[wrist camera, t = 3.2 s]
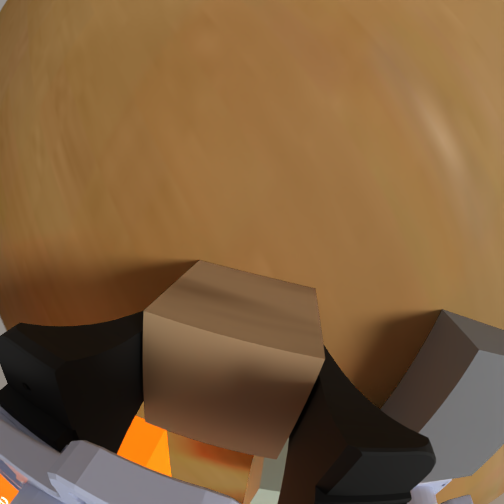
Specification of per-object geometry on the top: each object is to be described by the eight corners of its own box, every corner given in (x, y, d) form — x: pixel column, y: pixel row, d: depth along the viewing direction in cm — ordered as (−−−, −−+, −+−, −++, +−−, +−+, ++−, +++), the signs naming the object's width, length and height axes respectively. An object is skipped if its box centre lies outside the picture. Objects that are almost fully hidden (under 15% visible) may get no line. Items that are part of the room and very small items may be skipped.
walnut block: (284, 379, 13) (276, 459, 8) (186, 353, 14) (145, 422, 9) (315, 288, 12) (325, 359, 7) (199, 260, 12) (143, 310, 7)
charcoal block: (455, 437, 13) (471, 475, 10) (358, 432, 14) (366, 483, 10) (527, 336, 11) (559, 368, 7) (439, 306, 11) (479, 349, 8)
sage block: (323, 469, 15) (322, 527, 10) (252, 459, 15) (239, 518, 11) (353, 427, 14) (362, 496, 9) (270, 415, 14) (259, 488, 9)
